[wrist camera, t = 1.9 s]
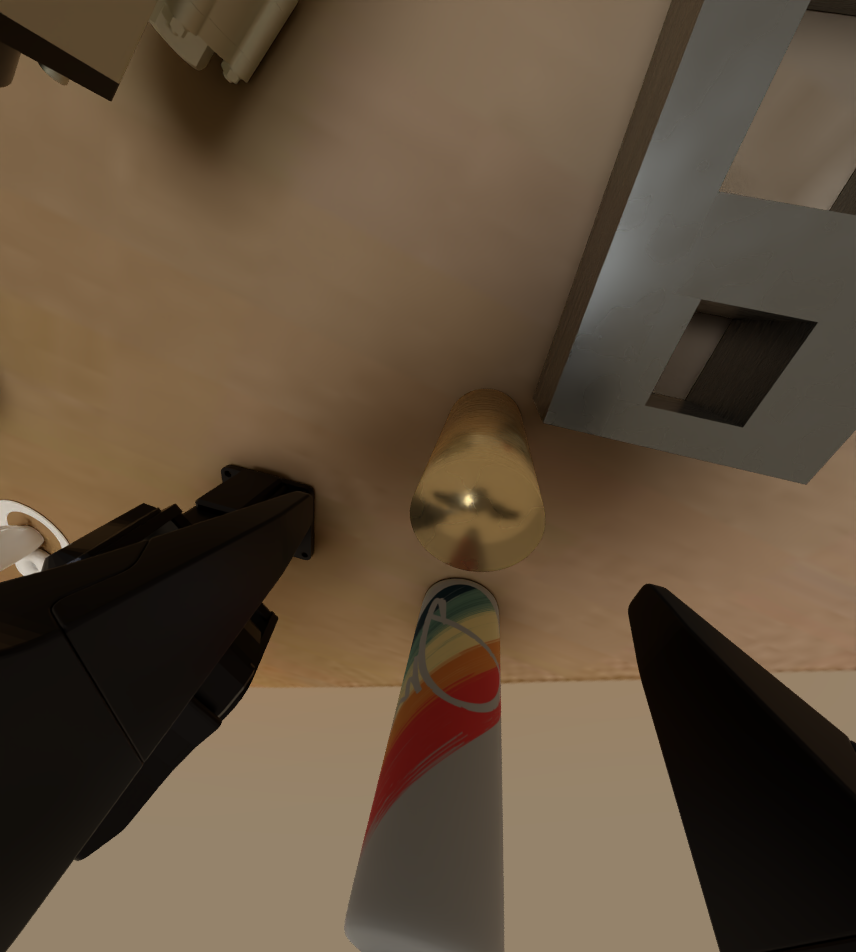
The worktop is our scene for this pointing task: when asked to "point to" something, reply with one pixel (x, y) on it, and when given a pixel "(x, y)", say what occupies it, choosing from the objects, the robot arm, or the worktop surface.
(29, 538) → the teacup and saucer
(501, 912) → the lotion bottle
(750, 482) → the worktop surface
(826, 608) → the worktop surface
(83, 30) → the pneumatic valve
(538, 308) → the worktop surface
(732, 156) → the socket block
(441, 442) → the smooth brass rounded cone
